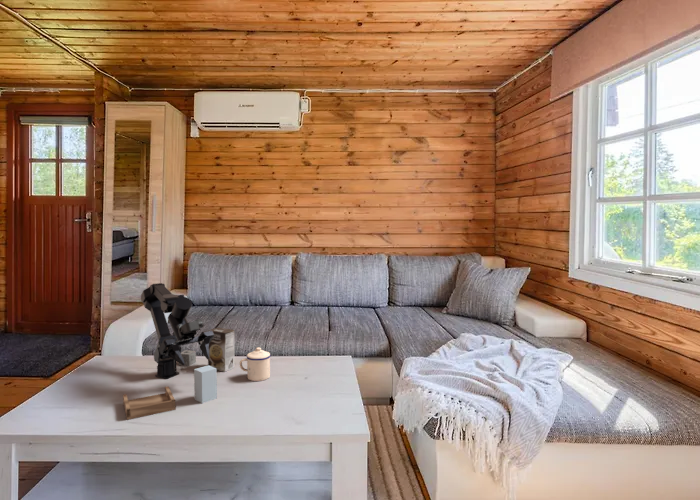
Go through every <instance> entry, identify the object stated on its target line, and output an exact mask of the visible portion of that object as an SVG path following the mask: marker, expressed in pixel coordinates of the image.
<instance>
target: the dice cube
mask: <svg viewBox="0 0 700 500" xmlns="http://www.w3.org/2000/svg"><path fill="white" fill-rule="evenodd" d="M181 355H182V357H183V360H184V362H185V365H184V366H185V367H190V366H192V365H194V364H195V363H197V354H196V350H189V349H188V350H187V349H185V350H183V351H181ZM178 366H182V365H181V364H180V363H179V362H178ZM184 366H183V367H184Z"/></svg>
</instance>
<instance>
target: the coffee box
mask: <svg viewBox="0 0 700 500" xmlns="http://www.w3.org/2000/svg"><path fill="white" fill-rule="evenodd" d="M210 330H211V331H213V333H214V335H215V336H214V337H213V339H212V340H211V342H210V343H209V359H207V366H208V365H209V366H212V367H214V368H217V372H218V371H220V372H224V373H225V372H228V371H231V370H232V369H234V368H235V329H230V328H222V327H215V328H211V329H210Z"/></svg>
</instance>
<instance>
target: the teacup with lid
mask: <svg viewBox="0 0 700 500" xmlns="http://www.w3.org/2000/svg"><path fill="white" fill-rule="evenodd" d="M239 361H240V362H239V367H240V369H241V371H243V372H247V375H246V377H247V379H248V380H249V381H252V382H261V381H265V380H268V379H270V376H271V353H270V352H269V351H266V350H264V349H262V348H261V347H256V348H255V349H254V350H253V351H251V352H249V353H247V355H246V358H242V359H241V360H239ZM245 361H246V363H247V365H246V367H247V368H245V367H244V366H243V362H245Z"/></svg>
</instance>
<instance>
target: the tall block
mask: <svg viewBox="0 0 700 500" xmlns="http://www.w3.org/2000/svg"><path fill="white" fill-rule="evenodd" d="M217 372H218V370H217V368H214V367H212V366H209V365H208V364H207V365H205V366H201V367H198V368H194V369H193V378H194V381H193V382H194V383H193V386H194V400H195V401H197V402H198V403H200V404H204V403H208V402H210V401H214V400H216V399H218V384H217V383H218V382H217V381H218V379H217V378H218V377H217V376H218V375H217Z"/></svg>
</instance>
